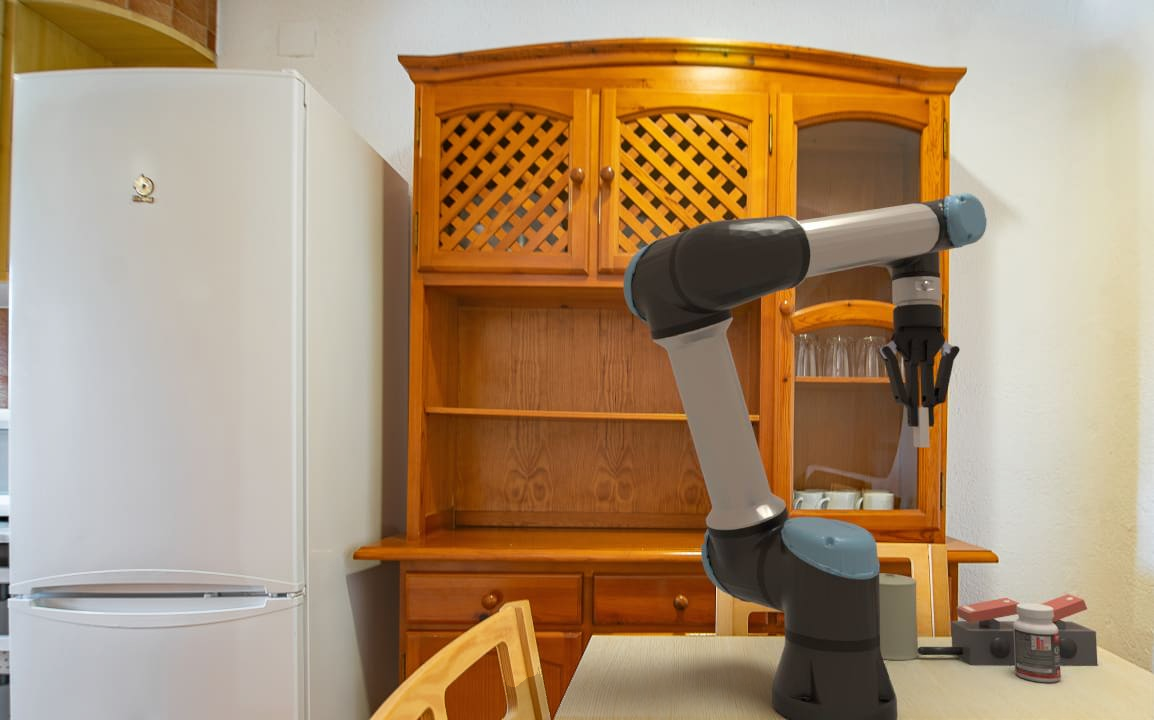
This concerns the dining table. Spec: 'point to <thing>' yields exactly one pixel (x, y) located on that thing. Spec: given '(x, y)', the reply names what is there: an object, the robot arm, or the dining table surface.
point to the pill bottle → (1036, 643)
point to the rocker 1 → (987, 610)
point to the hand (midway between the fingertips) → (921, 446)
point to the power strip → (996, 643)
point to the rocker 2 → (1066, 606)
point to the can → (898, 617)
